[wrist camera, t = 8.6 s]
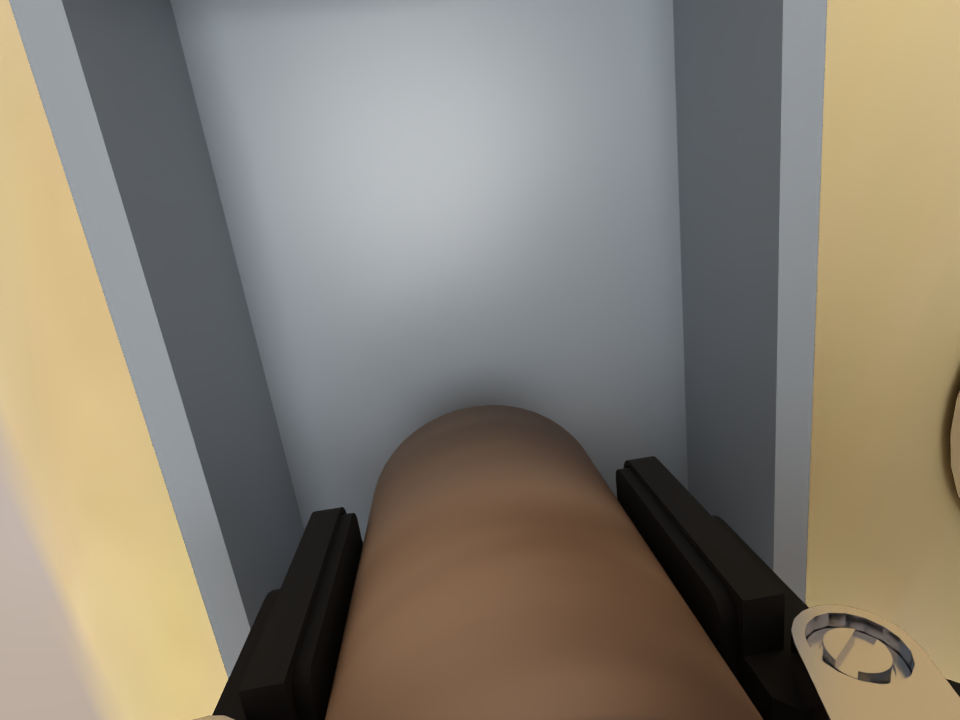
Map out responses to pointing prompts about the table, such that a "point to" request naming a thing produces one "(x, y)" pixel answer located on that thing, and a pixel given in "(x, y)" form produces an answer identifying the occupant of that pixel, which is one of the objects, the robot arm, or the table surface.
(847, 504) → the table surface
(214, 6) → the tote
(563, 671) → the walnut cylinder
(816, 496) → the table surface
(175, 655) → the table surface
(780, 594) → the robot arm
